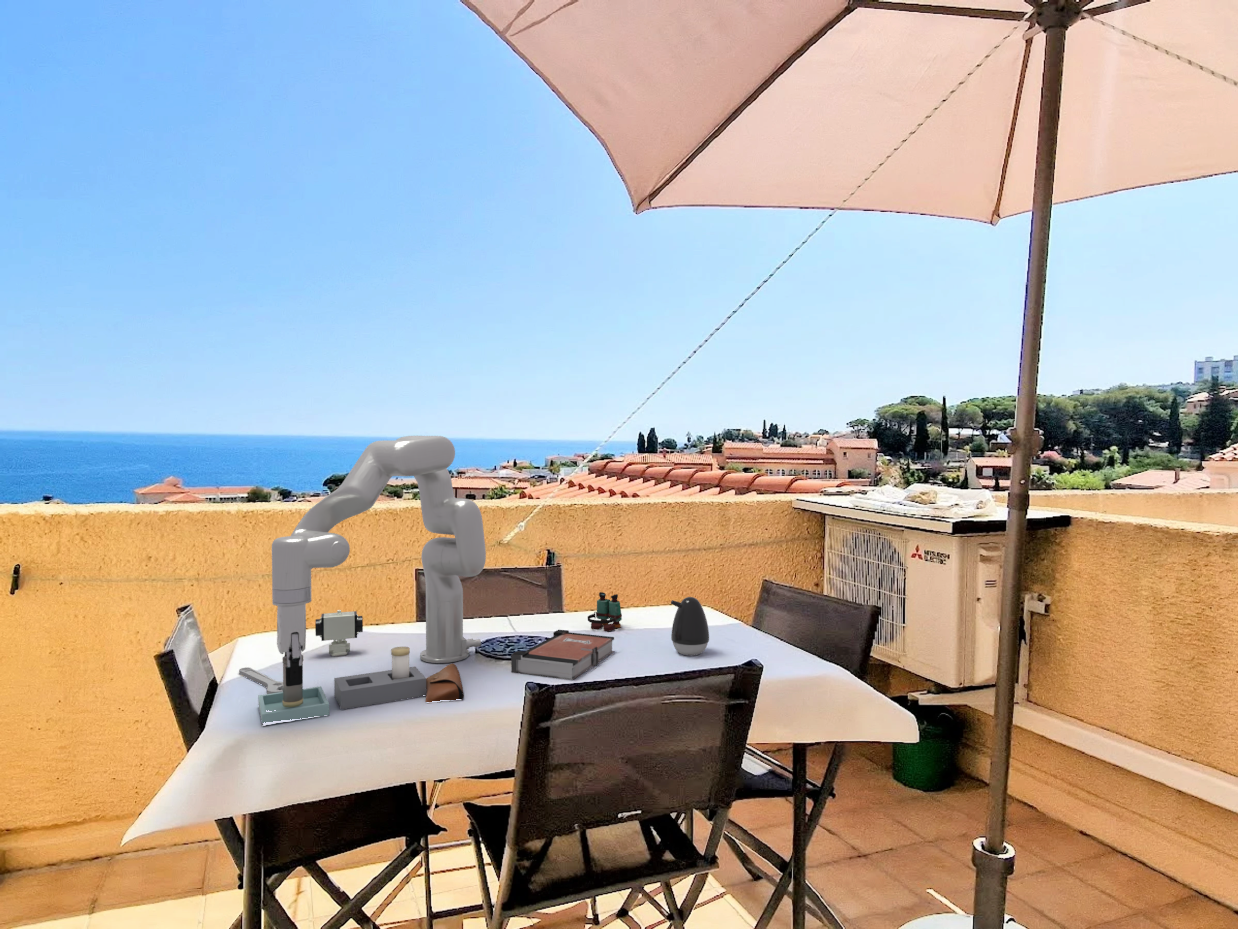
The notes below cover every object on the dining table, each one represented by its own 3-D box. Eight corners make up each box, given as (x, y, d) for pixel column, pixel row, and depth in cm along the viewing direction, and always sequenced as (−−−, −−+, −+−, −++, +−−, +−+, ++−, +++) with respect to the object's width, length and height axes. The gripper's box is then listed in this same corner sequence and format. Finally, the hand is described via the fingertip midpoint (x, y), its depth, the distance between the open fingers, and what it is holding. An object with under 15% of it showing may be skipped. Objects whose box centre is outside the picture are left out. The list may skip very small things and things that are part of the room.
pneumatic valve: (363, 654, 198) (362, 610, 198) (315, 659, 194) (315, 613, 194) (362, 649, 203) (362, 606, 203) (316, 653, 199) (315, 609, 199)
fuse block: (415, 683, 175) (415, 666, 175) (426, 696, 166) (426, 678, 166) (334, 695, 166) (334, 678, 166) (341, 710, 157) (341, 691, 157)
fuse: (407, 688, 171) (407, 645, 171) (411, 694, 167) (411, 650, 167) (389, 691, 169) (389, 648, 169) (393, 696, 166) (393, 652, 165)
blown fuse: (302, 699, 159) (302, 653, 159) (304, 705, 156) (304, 658, 155) (281, 702, 157) (281, 655, 157) (283, 708, 154) (283, 660, 154)
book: (575, 682, 177) (575, 661, 177) (511, 674, 183) (511, 654, 183) (616, 654, 201) (616, 635, 201) (558, 647, 208) (558, 629, 208)
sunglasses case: (421, 678, 178) (436, 653, 179) (447, 691, 180) (461, 666, 181) (424, 704, 161) (440, 676, 162) (453, 717, 163) (468, 690, 163)
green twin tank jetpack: (582, 598, 224) (600, 590, 232) (584, 632, 225) (602, 622, 233) (607, 602, 219) (624, 593, 227) (609, 636, 220) (626, 626, 228)
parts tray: (321, 697, 165) (321, 686, 165) (329, 715, 154) (329, 703, 154) (258, 707, 159) (258, 695, 159) (262, 726, 148) (261, 714, 148)
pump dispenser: (667, 648, 205) (667, 593, 204) (704, 647, 206) (705, 592, 205) (673, 659, 195) (673, 601, 194) (712, 658, 196) (713, 600, 195)
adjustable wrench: (236, 675, 183) (236, 668, 182) (264, 670, 187) (264, 663, 187) (271, 700, 164) (271, 692, 164) (301, 693, 169) (301, 686, 169)
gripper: (269, 590, 161) (270, 674, 162) (275, 605, 147) (276, 697, 147) (306, 587, 165) (307, 668, 165) (316, 601, 150) (317, 690, 151)
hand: (293, 681), depth 156 cm, fingers closed on blown fuse, 3 cm apart
